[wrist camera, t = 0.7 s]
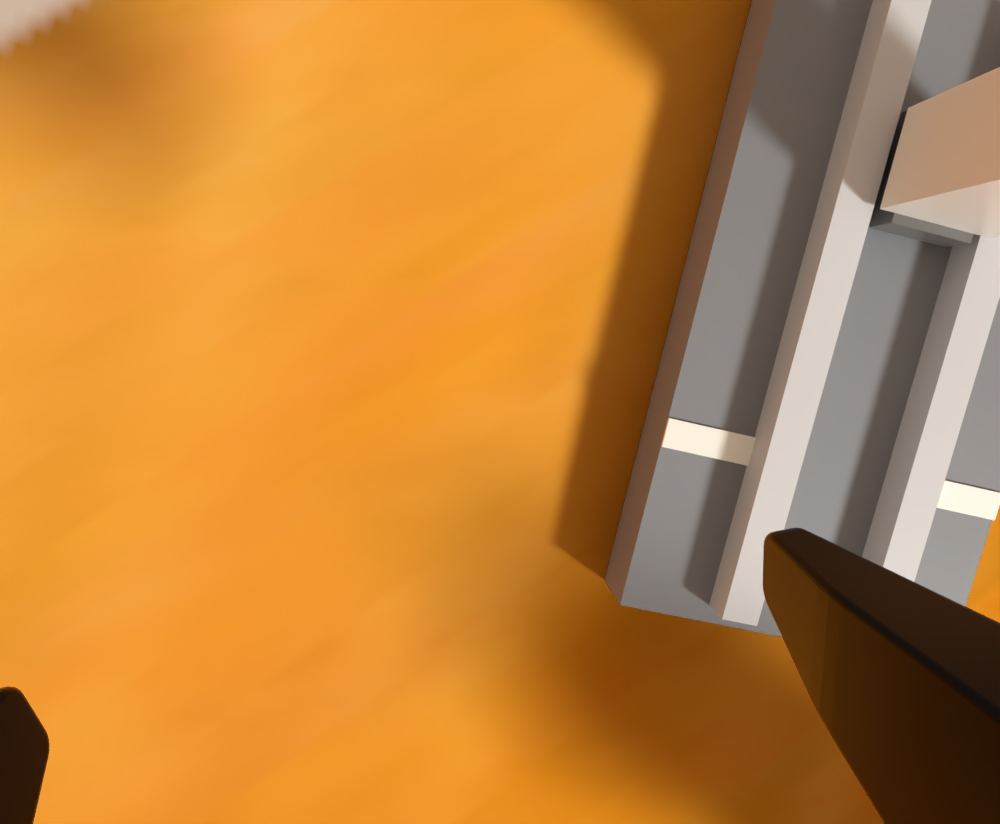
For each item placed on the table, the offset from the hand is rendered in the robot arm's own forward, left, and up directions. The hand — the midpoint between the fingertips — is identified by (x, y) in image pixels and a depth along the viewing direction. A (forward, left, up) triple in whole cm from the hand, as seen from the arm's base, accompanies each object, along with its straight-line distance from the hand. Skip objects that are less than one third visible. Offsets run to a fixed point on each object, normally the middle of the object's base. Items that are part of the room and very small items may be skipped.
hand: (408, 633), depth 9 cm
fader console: (-3, -12, -13) cm, 18 cm away
